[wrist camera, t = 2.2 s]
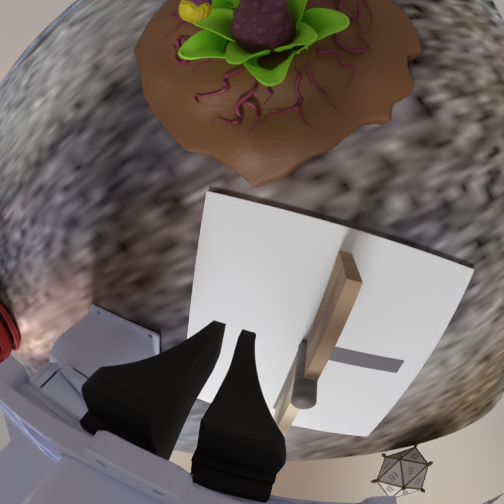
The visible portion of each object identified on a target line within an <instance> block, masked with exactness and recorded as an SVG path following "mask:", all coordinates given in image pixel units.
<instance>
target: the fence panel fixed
mask: <svg viewBox="0 0 504 504" xmlns="http://www.w3.org/2000/svg"><path fill="white" fill-rule="evenodd" d="M306 350H307V340H305V341H303V342H301V343H300V344H299V346H298V353H297V361H296V365H295V367H294V369H293V371H292V374H291V376H290V378H289V380H288V383H287V385H286V387H285V389H284V391H283V394H282V396H281V398H280V400H279V402H278V404H277V406H276V409H275V414H274V420H275V422H276V424H277V426H278V427H279V429H280V431H281V432H282V434H283V435H284V436H285V434H286V432H287V431H288V429H289V427H290V426H291V424H292V423H293V421H294V419H295V418H296V416H297V414H298V412H299V411H300V409H310V408H312V407H314V406H315V405H316V402H317V382H318V381H314V380H310V379H305V378H304V373H305V362H306Z"/></svg>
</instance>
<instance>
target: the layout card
mask: <svg viewBox="0 0 504 504" xmlns="http://www.w3.org/2000/svg"><path fill="white" fill-rule="evenodd" d="M339 250H341V251H344V252H348V253H351V254H352V255H353V258H354V260H355V263H356V266H357V268H358V271H359V274H360V277H361V279H362V282H363V284H362V286H361V289H360V291H359V294H358V296H357V298H356V301H355V303H354V306H353V308H352V310H351V313H350V315H349V317H348V319H347V322H346V324H345V326H344V328H343V331H342V333H341V335H340V337H339V339H338V341H337V343H336V345H335V348H334V350H333V352H332V354H331V356H330V358H329V360H328V362H327V364H326V366H325V368H324V370H323V371H322V373H321V375H320V377H319V379H318V382H317V402H316V405H315V406H314V407H312V408H310V409H300V411H299V412H298V414H297V416H296V418H295V419H294V421H293V423H292V424H291V425H293V426H298V427H303V428H309V429H314V430H320V431H326V432H333V433H340V434H348V435H357V436H368V435H369V434H370V433H371V432H372V431H373V429H374V428H375V427H376V426H377V425H378V424H379V423H380V421H381V420H382V419H383V418H384V417H385V416H386V414H387V413H388V412H389V411H390V410H391V408H392V407H393V406H394V405H395V403H396V402H397V401H398V400H399V398H400V397H401V396H402V394H403V393H404V392H405V391H406V389H407V388H408V386H409V385H410V384H411V382H412V381H413V380H414V378H415V377H416V375H417V374H418V372H419V371H420V369H421V368H422V367H423V365H424V364H425V362H426V360H427V359H428V357H429V356H430V354H431V353H432V351H433V349H434V348H435V346H436V345H437V343H438V341H439V340H440V338H441V336H442V334H443V333H444V331H445V329H446V327H447V325H448V324H449V322H450V320H451V318H452V316H453V314H454V312H455V310H456V308H457V306H458V304H459V302H460V300H461V298H462V296H463V294H464V292H465V290H466V288H467V285H468V283H469V281H470V279H471V276H472V274H473V272H474V269H473V268H470V267H467V266H465V265H462V264H459V263H457V262H454V261H451V260H448V259H446V258H443V257H440V256H437V255H434V254H431V253H429V252H426V251H423V250H420V249H417V248H414V247H411V246H408V245H405V244H402V243H399V242H396V241H393V240H389V239H386V238H383V237H380V236H377V235H374V234H370V233H367V232H364V231H360V230H357V229H354V228H350V227H347V226H344V225H340V224H337V223H333V222H330V221H326V220H323V219H319V218H316V217H312V216H308V215H305V214H301V213H297V212H293V211H290V210H286V209H282V208H278V207H274V206H270V205H266V204H262V203H258V202H254V201H250V200H246V199H242V198H238V197H233V196H229V195H225V194H220V193H216V192H211V191H207V193H206V199H205V205H204V211H203V217H202V223H201V230H200V237H199V243H198V250H197V258H196V265H195V273H194V281H193V289H192V297H191V306H190V315H189V325H188V335H187V339H188V338H190V337H191V336H193V335H194V334H196V333H197V332H199V331H200V330H201V329H203V328H204V327H205V326H207V325H208V324H209V323H210V322H212V321H214V320H215V321H218V322H221V323H225V324H226V327H225V332H224V337H223V342H222V348H221V353H220V356H219V358H218V361H217V363H216V365H215V368H214V370H213V372H212V374H211V375H210V377H209V379H208V380H207V382H206V384H205V385H204V387H203V389H202V390H201V392H200V394H199V396H198V397H197V398H198V399H201V400H204V401H207V402H210V403H212V401H213V399H214V397H215V395H216V394H217V392H218V390H219V388H220V386H221V384H222V382H223V380H224V378H225V376H226V374H227V372H228V370H229V367H230V364H231V361H232V357H233V354H234V350H235V347H236V343H237V340H238V337H239V335H240V333H241V331H242V329H244V330H247V331H251V332H254V333H255V334H256V340H255V359H256V367H257V373H258V378H259V382H260V386H261V389H262V393H263V396H264V399H265V401H266V403H267V406H268V408H269V410H270V413H271V415H272V417H273V419H274V414H275V409H276V406H277V404H278V402H279V400H280V398H281V396H282V394H283V391H284V389H285V387H286V385H287V383H288V380H289V378H290V376H291V374H292V371H293V369H294V367H295V365H296V361H297V353H298V346H299V344H300V343H301V342H303V341H305V340H307V337H308V335H309V332H310V330H311V327H312V325H313V322H314V320H315V317H316V314H317V312H318V309H319V307H320V304H321V301H322V298H323V296H324V293H325V290H326V287H327V285H328V282H329V279H330V276H331V273H332V270H333V267H334V264H335V261H336V258H337V255H338V252H339Z"/></svg>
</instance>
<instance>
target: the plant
mask: <svg viewBox="0 0 504 504" xmlns="http://www.w3.org/2000/svg"><path fill="white" fill-rule="evenodd" d="M421 52H422V49H421V44H420V41H419V37H418V35H417V32H416V30H415V28H414V25H413V24H412V22H411V21H410V19H409V17H408V16H407V15H406V14H405V13H404V12H403V11H402V10H401V9H400V8H399V7H398V6H397V5H395V4H394V3H393V2H392V1H390V0H168V1H167V2H166V3H165V4H164V5H163V6H162V7H161V8H160V9H159V11H158V12H157V13H156V14H155V15H154V17H153V18H152V19H151V21H150V22H149V23H148V25H147V27H146V28H145V30H144V32H143V34H142V35H141V37H140V39H139V41H138V43H137V45H136V47H135V50H134V53H135V56H136V60H137V63H138V66H139V70H140V75H141V81H142V90H143V93H144V96H145V99H146V101H147V103H148V105H149V107H150V109H151V111H152V113H153V114H154V115H155V116H156V118H157V119H158V120H159V121H160V122H161V123H162V124H163V125H164V126H165V128H166V129H167V130H168V131H169V133H170V134H171V135H172V136H173V137H174V138H175V140H176V141H177V142H178V143H179V144H180V145H181V146H182V147H183V148H184V149H185V150H186V151H189V152H192V153H198V154H203V155H208V156H211V157H213V158H216V159H217V160H219V161H221V162H222V163H224V164H225V165H227V166H228V167H229V168H231V169H232V170H234V171H235V172H237V173H238V174H240V175H241V176H242V177H243V178H244V179H245V180H247V181H248V182H249V183H250V184H251V185H252V186H254V187H258V186H261V185H264V184H267V183H269V182H273V181H276V180H279V179H282V178H284V177H286V176H287V175H289V174H290V173H291V172H292V171H293V170H295V169H296V168H297V167H298V166H299V165H300V164H302V163H303V162H304V161H306V160H308V159H309V158H311V157H314V156H317V155H320V154H323V153H325V152H327V151H329V150H331V149H332V148H334V147H335V146H336V145H338V144H339V143H340V142H341V141H342V140H343V139H344V138H346V137H347V136H348V135H350V134H351V133H352V132H353V131H355V130H356V129H357V128H359V127H361V126H364V125H370V124H385V123H387V122H389V121H390V120H391V111H392V107H393V105H394V104H395V103H396V102H398V101H400V100H402V99H403V98H405V97H406V96H408V95H409V94H410V93H411V92H412V90H413V82H412V79H411V74H410V71H409V68H408V64H407V62H408V61H412V60H413V59H415V58H416V57H417V56H418V55H420V54H421Z"/></svg>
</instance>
